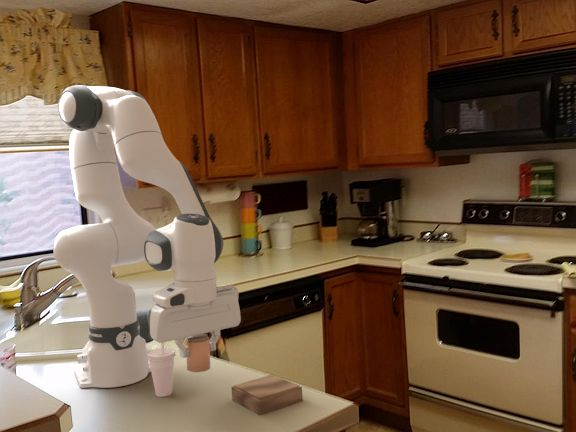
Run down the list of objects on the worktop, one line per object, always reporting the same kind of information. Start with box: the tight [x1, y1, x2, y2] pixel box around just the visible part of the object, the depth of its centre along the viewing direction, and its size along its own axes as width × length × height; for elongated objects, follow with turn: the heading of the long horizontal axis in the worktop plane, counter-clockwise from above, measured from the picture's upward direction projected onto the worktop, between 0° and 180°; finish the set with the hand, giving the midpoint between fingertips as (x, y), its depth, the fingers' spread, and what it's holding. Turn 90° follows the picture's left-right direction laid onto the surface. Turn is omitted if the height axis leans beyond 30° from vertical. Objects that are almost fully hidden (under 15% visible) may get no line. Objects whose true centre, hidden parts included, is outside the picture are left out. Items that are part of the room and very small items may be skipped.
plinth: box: [231, 374, 303, 416], centre depth 132 cm, size 11×11×3 cm
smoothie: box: [147, 342, 177, 398], centre depth 139 cm, size 6×6×14 cm
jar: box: [185, 333, 211, 373], centre depth 131 cm, size 5×5×7 cm
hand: (198, 353), depth 131 cm, fingers closed on jar, 5 cm apart
